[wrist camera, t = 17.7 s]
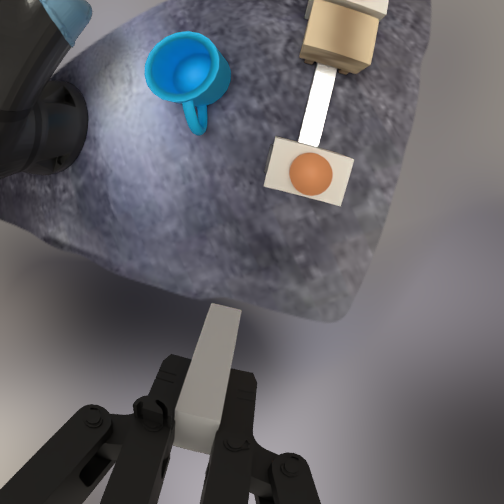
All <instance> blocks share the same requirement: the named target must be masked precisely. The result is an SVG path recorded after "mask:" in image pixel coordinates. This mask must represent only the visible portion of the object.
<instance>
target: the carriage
mask: <svg viewBox="0 0 504 504" xmlns="http://www.w3.org/2000/svg"><path fill="white" fill-rule="evenodd" d="M378 23H379V19H377V18H375V17H372V16H370V15H367V14H364V13H361V12H358V11H356V10H353V9H350V8H346V7H343V6H340V5H337V4H333V3H330V2H326V1H323V0H314V2H313V5H312V9H311V12H310V15H309V19H308V23H307V27H306V31H305V35H304V39H303V43H302V48H301V52H300V56H299V58H303V59H305V61H304V63H307V64H311V65H312V64H313V62H314V61H315V62H318V63H322V64H325V65H329V66H332V67H335V68H338V69H339V72H338V73H342V74H345V75H346V74H348V73H349V72H351V73H354V74H357V73H358V72H360V71H362V70H363V69H365V68H366V67H368V66H369V65H371V60H372V55H373V50H374V45H375V39H376V34H377V29H378Z"/></svg>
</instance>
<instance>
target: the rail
mask: <svg viewBox="0 0 504 504" xmlns="http://www.w3.org/2000/svg"><path fill="white" fill-rule="evenodd" d="M336 71H337V68H335V67H332V66H329V65H325V64H322V63H318V62H317V63H316V67H315V71H314V75H313V80H312V84H311V88H310V92H309V96H308V100H307V104H306V108H305V112H304V117H303V121H302V125H301V129H300V133H299V137H298V141H297V142H300V143H304V144H308V145H311V146H315V147H318V145H319V141H320V137H321V133H322V129H323V125H324V121H325V117H326V113H327V109H328V105H329V101H330V97H331V93H332V88H333V84H334V80H335V76H336Z"/></svg>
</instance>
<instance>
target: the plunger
mask: <svg viewBox="0 0 504 504" xmlns="http://www.w3.org/2000/svg"><path fill="white" fill-rule="evenodd" d="M289 175H290V179H291V182H292V184H293V186H294V188H295V189H296V190H297V191H299V192H300V193H302V194H304V195H308V196H314V195H319V194H321V193H323V192H324V191H325V190H327V188H328V187H329V186H330V184H331V181H332V177H333V172H332V168H331V166H330V164H329V162H328V161H327V160H326V159H325V158H324V157H322V156H320V155H319V154H316V153H303V154H301V155H299V156H297V157H296V158H295V159H294V160H293V162H292V164H291V166H290V170H289Z"/></svg>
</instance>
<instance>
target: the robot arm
mask: <svg viewBox="0 0 504 504" xmlns="http://www.w3.org/2000/svg"><path fill="white" fill-rule="evenodd" d="M91 16H92V8H91V6H90V4H89V3H88V2H87V1H85V0H0V179H1V178H4V177H7V176H10V175H12V174H15V173H18V172H26V173H32V174H37V175H50V174H54V173H57V172H60V171H62V170H64V169H66V168H67V167H69V166H70V165H71V164H72V163H73V162H74V160H75V159H76V158H77V156H78V155H79V153H80V151H81V149H82V147H83V144H84V141H85V138H86V133H87V126H88V115H87V108H86V104H85V101H84V98H83V96H82V94H81V93H80V91H79V90H78V89H77V88H76V87H75V86H74V85H72V84H70V83H68V82H64V81H49V79H50V77H51V76H52V74H53V73H54V71H55V70H56V68H57V67H58V65H59V64H60V62H61V61H62V59H63V58H64V56H65V55H66V54H67V52H68V51H69V50H70V48H71V47H73V46H74V44H75V41H76V39H77V38H78V36H79V35H80V34H81V32H82V31H83V29H84V28H85V27H86V25H87V24H88V23H89V21H90V19H91ZM241 311H242V310H239V309H235V308H231V307H227V306H222V305H218V304H214V303H211V306H210V309H209V312H208V314H207V317H206V320H205V323H204V326H203V329H202V332H201V335H200V337H199V340H198V343H197V346H196V349H195V352H194V355H193V358H192V359H188V358H184V357H180V356H177V355H173V354H171V355H170V356H168V357H167V358H166V359H165V360H163V362H162V364H161V367H160V369H159V372H158V374H157V376H156V379H155V380H154V383H153V385H152V388H151V390H150V392H149V394H148V396H143V397H140V398H139V399H137V400H136V401H135V402H134V404H133V410H134V413H133V414H129V415H118V414H109V412H108V411H107V410H106V409H105V408H103V407H101V406H99V405H93V404H91V405H86V406H84V407H82V408H81V409H79V410H78V411H77V412H76V413H75V414H74V415H73V416H72V417H71V418H70V419H69V420H68V421H67V422H66V423H65V424H64V425H63V426H62V427H61V428H60V429H59V430H58V431H57V432H56V433H55V434H54V435H53V436H52V437H51V438H50V439H49V440H48V441H47V442H46V443H45V444H44V445H43V446H42V447H41V448H40V449H39V450H38V451H37V453H36V454H35V455H34V456H33V457H32V458H31V459H30V460H29V461H28V462H27V463H26V464H25V465H24V466H23V467H22V468H21V469H20V470H19V471H18V472H17V473H16V474H15V475H14V476H13V477H12V478H11V479H10V480H9V481H8V482H7V483H6V484H5V485H4V486H3V487H2V488H1V489H0V504H82V503H83V502H84V501H85V500H86V498H87V497H88V496H89V495H90V493H91V492H92V491H93V490H94V489H95V487H96V486H97V485H98V483H99V482H100V481H101V480H102V479H103V477H104V476H105V475H106V474H107V472H108V471H109V470H110V468H111V467H112V466H113V465H114V464H115V466H114V468H113V471H112V473H111V476H110V479H109V481H108V484H107V486H106V489H105V491H104V494H103V497H102V499H101V502H100V504H157V503H158V499H159V495H160V492H161V488H162V485H163V481H164V478H165V474H166V471H167V467H168V463H169V460H170V452H171V449H172V445H173V446H176V447H180V448H184V449H188V450H192V451H196V452H200V453H205V454H209V455H210V458H209V463H208V467H207V470H206V476H205V480H204V485H203V490H202V495H201V500H200V504H248V499H249V492H250V493H252V494H254V495H255V500H256V504H321V503H320V500H319V497H318V493H317V490H316V487H315V484H314V481H313V478H312V474H311V471H310V468H309V465H308V464H307V462H306V460H305V459H304V458H303V457H301V456H300V455H297V454H295V453H283V454H280V455H277V454H275V453H273V452H271V451H268V450H266V449H264V448H263V447H261V446H260V445H259V444H258V443H257V442H256V441H255V439H254V436H253V422H254V411H255V400H256V389H257V381H256V379H255V377H254V374H253V373H250V372H245V371H240V370H236V369H231V364H232V358H233V353H234V348H235V342H236V337H237V332H238V327H239V321H240V316H241ZM115 462H116V463H115Z"/></svg>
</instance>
